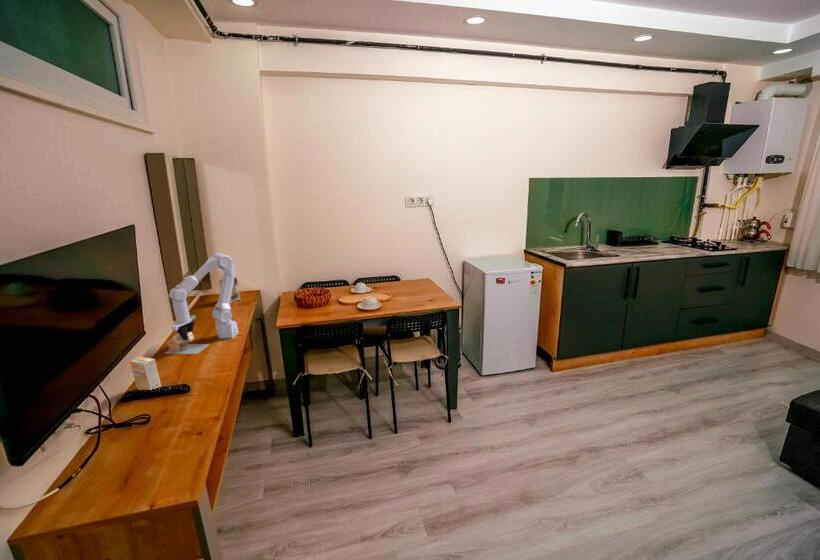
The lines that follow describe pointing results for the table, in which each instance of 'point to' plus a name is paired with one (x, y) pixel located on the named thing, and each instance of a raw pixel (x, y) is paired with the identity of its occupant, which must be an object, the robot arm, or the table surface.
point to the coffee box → (233, 291)
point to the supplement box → (145, 373)
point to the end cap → (175, 345)
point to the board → (189, 349)
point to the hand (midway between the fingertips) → (187, 338)
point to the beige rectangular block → (179, 340)
